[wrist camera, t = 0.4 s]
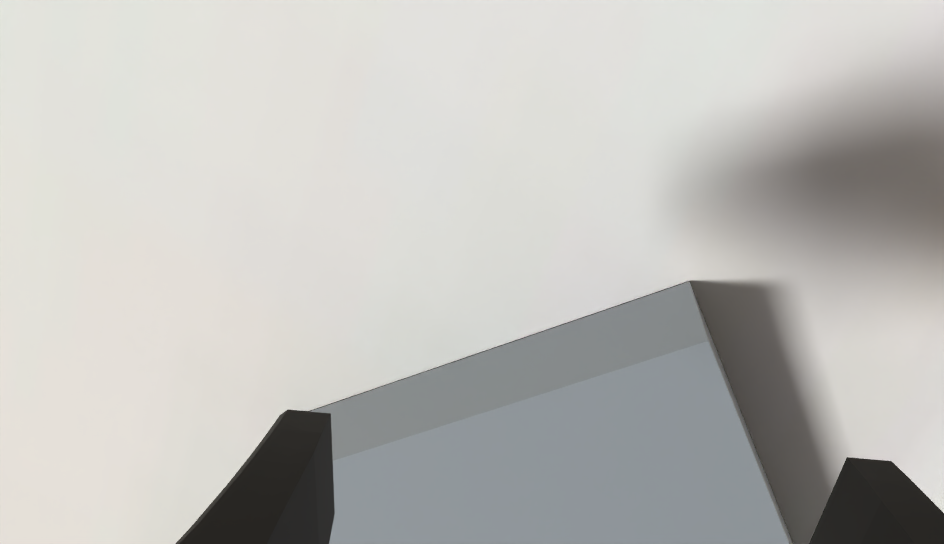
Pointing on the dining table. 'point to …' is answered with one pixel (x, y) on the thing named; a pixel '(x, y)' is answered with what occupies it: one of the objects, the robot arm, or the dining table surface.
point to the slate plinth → (559, 442)
